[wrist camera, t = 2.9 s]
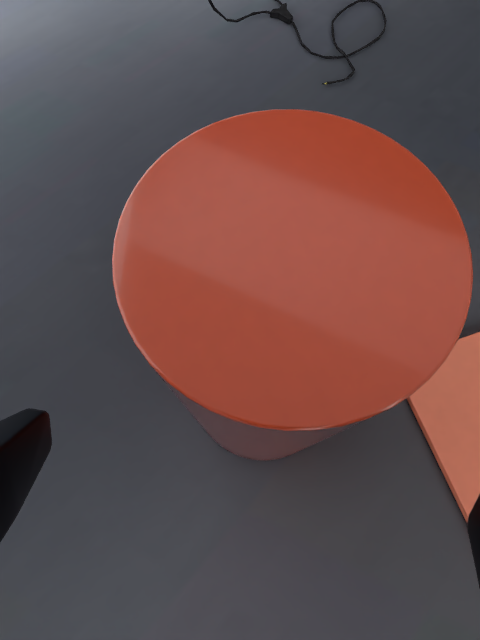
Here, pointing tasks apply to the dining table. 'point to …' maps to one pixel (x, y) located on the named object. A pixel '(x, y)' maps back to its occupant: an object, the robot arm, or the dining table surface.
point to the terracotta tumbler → (290, 276)
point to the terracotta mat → (454, 419)
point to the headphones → (288, 18)
